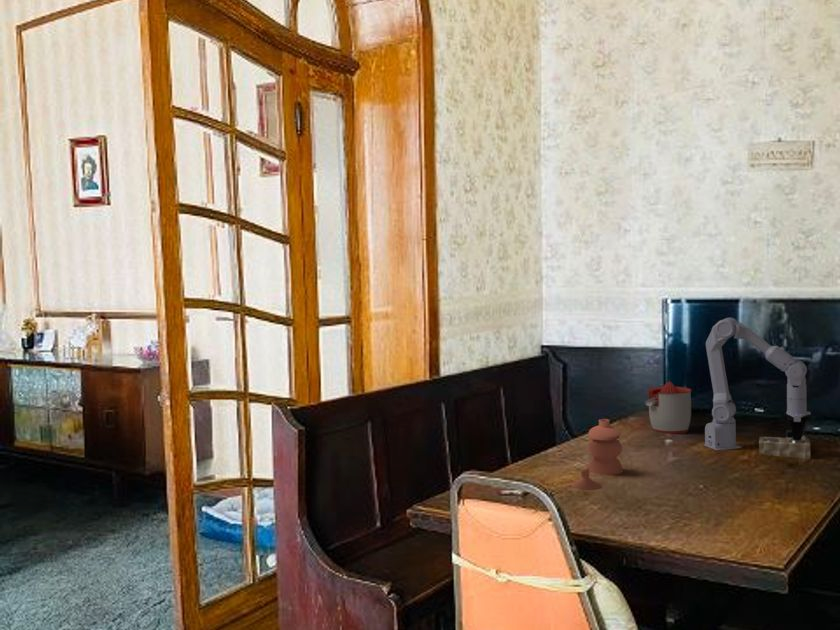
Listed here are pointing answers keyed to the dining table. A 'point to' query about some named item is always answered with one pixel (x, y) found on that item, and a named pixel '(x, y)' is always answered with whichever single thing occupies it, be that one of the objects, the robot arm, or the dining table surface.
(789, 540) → the dining table surface
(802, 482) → the dining table surface
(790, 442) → the steel peg
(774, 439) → the steel peg
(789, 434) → the watch
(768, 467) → the dining table surface
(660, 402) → the citrus juicer
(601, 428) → the ceramic vessels
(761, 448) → the press block
